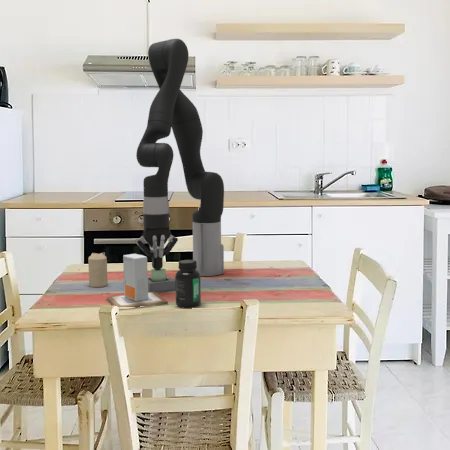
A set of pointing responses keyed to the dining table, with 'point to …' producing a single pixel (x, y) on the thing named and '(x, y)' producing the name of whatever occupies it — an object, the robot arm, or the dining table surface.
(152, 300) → the board
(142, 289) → the skincare box
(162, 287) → the button housing
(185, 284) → the supplement bottle
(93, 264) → the candle
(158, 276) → the button
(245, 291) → the dining table surface
